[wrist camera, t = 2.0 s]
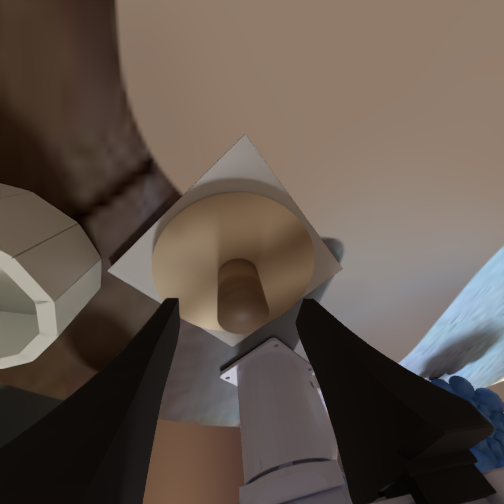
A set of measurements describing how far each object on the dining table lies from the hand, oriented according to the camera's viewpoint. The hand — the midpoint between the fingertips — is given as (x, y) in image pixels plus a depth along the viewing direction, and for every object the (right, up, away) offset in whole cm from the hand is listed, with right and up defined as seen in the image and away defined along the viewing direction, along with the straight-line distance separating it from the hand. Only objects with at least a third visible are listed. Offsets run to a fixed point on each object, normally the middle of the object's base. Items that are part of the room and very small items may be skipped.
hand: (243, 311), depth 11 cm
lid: (-1, +2, +4) cm, 5 cm away
